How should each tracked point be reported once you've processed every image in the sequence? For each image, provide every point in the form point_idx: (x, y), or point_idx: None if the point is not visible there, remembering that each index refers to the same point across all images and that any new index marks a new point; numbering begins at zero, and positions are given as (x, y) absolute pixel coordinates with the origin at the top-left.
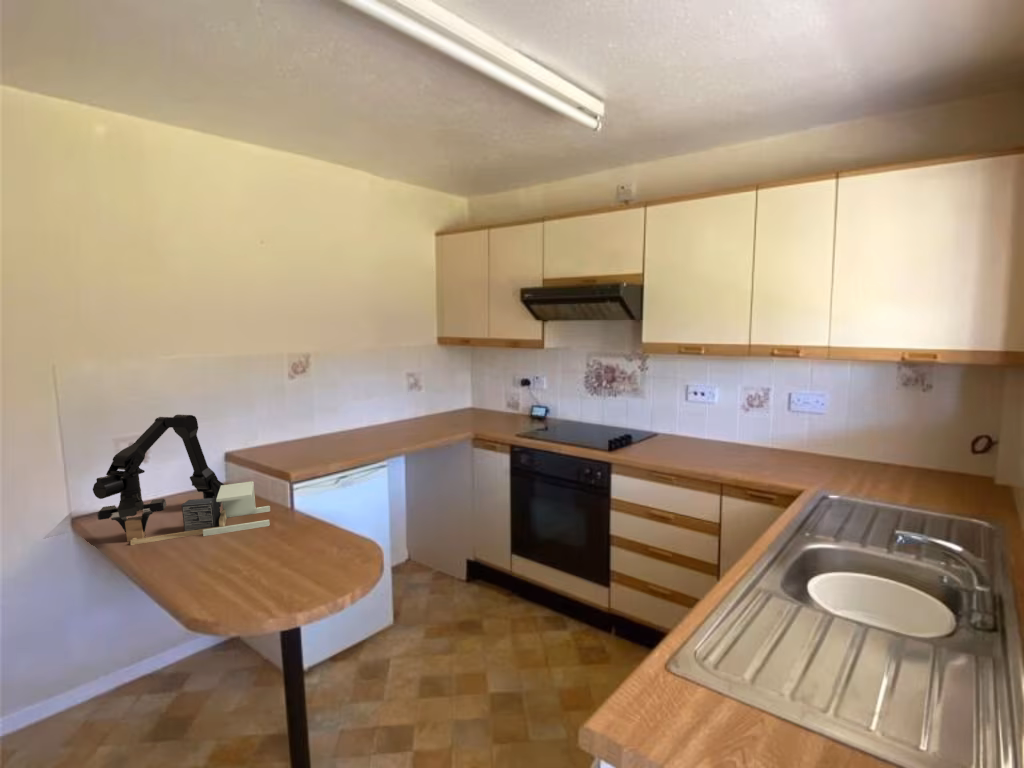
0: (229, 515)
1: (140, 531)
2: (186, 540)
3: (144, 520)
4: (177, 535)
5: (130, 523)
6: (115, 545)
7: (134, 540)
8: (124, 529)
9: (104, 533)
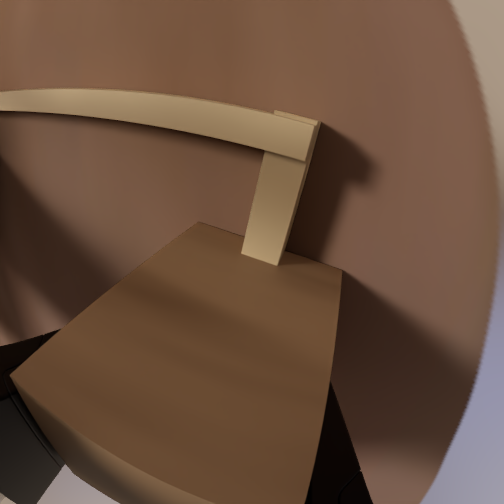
0: None
1: (157, 271)
2: (3, 24)
3: (20, 361)
4: (1, 91)
5: (198, 446)
6: (452, 257)
7: (261, 112)
8: (335, 420)
9: (393, 489)
